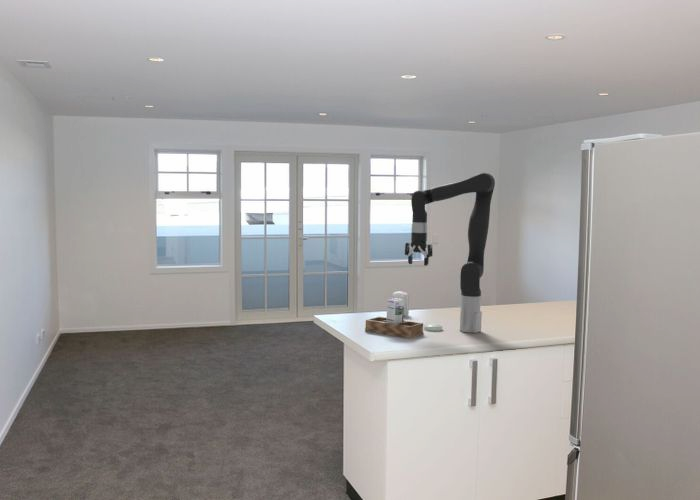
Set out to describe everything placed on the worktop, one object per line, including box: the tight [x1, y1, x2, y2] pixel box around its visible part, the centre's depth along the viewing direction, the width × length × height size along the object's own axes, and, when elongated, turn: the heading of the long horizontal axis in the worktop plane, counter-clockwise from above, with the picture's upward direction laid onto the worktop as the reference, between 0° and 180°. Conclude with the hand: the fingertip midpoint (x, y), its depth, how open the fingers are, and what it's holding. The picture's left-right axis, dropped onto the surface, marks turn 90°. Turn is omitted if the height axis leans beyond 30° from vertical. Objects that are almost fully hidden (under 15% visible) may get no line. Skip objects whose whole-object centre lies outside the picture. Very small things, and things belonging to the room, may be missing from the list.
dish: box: [423, 323, 443, 332], centre depth 324 cm, size 9×9×2 cm
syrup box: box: [386, 298, 404, 324], centre depth 314 cm, size 6×6×14 cm
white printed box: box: [391, 290, 410, 316], centre depth 362 cm, size 10×4×12 cm, turn 39°
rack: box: [364, 316, 424, 339], centre depth 314 cm, size 24×13×5 cm, turn 54°
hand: (418, 264), depth 330 cm, fingers open, 8 cm apart
